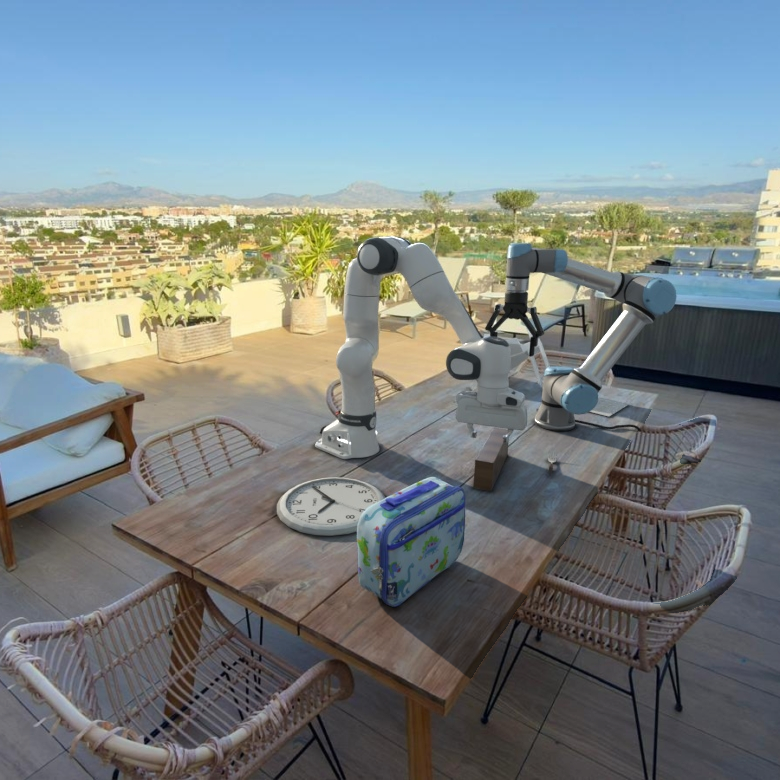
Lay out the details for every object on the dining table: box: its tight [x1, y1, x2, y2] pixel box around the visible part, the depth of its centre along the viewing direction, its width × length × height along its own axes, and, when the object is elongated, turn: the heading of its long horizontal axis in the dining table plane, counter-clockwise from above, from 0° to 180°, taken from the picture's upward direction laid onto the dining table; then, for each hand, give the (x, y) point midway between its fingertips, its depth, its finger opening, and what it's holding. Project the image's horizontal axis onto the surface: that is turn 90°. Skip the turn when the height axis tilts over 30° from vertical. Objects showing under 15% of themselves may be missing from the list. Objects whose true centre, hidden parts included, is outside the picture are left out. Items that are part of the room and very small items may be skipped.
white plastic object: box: [483, 326, 551, 390], centre depth 258 cm, size 37×45×31 cm
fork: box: [547, 451, 558, 477], centre depth 168 cm, size 3×16×2 cm, turn 160°
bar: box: [472, 427, 510, 492], centre depth 164 cm, size 28×5×9 cm, turn 158°
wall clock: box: [276, 476, 386, 537], centre depth 142 cm, size 30×2×30 cm
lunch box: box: [356, 476, 466, 608], centre depth 110 cm, size 26×11×21 cm, turn 134°
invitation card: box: [589, 397, 629, 418], centre depth 226 cm, size 21×1×15 cm
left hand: (489, 439), depth 152 cm, fingers open, 8 cm apart
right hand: (512, 353), depth 181 cm, fingers open, 13 cm apart
